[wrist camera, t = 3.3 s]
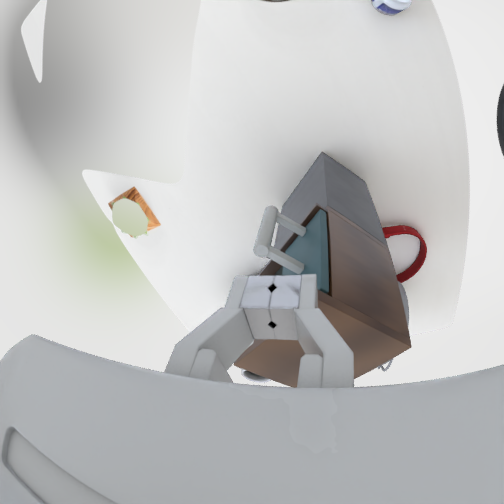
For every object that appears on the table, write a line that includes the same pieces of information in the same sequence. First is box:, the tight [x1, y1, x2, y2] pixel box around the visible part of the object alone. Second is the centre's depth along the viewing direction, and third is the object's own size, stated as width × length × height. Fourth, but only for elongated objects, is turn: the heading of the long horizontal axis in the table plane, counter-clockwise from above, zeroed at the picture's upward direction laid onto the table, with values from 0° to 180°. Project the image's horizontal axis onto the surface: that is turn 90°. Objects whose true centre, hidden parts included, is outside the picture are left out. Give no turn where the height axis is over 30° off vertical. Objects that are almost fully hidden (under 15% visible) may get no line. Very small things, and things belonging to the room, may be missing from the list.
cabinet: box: [234, 152, 411, 388], centre depth 38 cm, size 12×14×35 cm
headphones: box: [382, 225, 427, 283], centre depth 54 cm, size 15×7×20 cm
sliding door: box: [253, 206, 329, 294], centre depth 27 cm, size 6×7×12 cm
